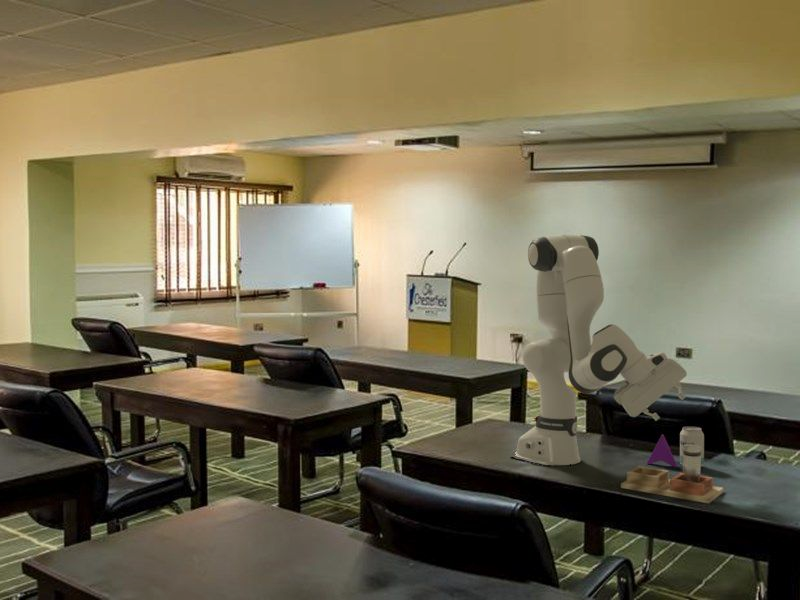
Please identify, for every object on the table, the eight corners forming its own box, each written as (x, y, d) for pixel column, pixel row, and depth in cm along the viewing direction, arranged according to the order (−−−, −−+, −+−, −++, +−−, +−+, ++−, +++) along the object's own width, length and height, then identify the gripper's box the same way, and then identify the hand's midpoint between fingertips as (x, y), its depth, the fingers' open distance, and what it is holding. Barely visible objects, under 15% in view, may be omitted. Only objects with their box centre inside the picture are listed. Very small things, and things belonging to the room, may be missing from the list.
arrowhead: (661, 480, 246) (638, 455, 249) (662, 478, 247) (639, 454, 250) (685, 460, 242) (661, 435, 245) (686, 459, 244) (662, 434, 247)
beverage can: (675, 467, 244) (676, 428, 244) (686, 463, 249) (686, 425, 249) (697, 471, 239) (697, 431, 239) (707, 467, 244) (708, 428, 244)
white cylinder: (680, 489, 216) (681, 446, 215) (685, 485, 219) (686, 443, 219) (697, 492, 213) (698, 448, 212) (702, 488, 217) (703, 445, 216)
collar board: (620, 487, 222) (621, 472, 222) (638, 477, 232) (638, 463, 232) (709, 503, 207) (709, 487, 207) (723, 492, 218) (723, 476, 217)
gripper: (611, 395, 226) (644, 433, 225) (668, 349, 225) (701, 387, 223) (608, 393, 232) (640, 430, 231) (663, 348, 231) (695, 385, 229)
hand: (670, 408), depth 227 cm, fingers open, 8 cm apart
